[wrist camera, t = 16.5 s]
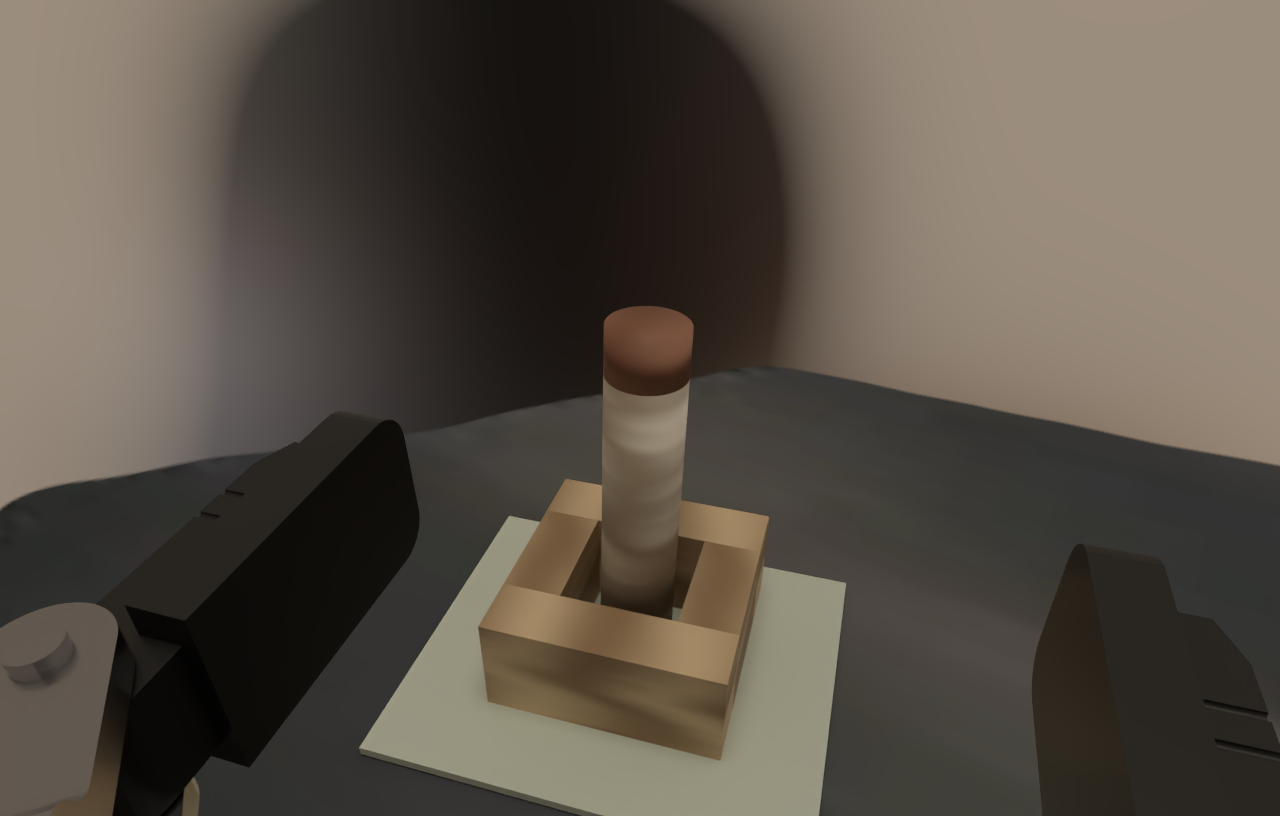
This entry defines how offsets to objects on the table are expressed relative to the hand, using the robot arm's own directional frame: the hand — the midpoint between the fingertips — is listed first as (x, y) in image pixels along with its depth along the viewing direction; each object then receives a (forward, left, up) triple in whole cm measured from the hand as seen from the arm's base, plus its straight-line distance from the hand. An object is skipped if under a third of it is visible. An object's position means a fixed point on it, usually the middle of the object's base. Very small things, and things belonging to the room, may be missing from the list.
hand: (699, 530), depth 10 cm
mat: (+6, -17, -24) cm, 30 cm away
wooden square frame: (+6, -18, -23) cm, 30 cm away
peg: (+6, -18, -23) cm, 30 cm away
